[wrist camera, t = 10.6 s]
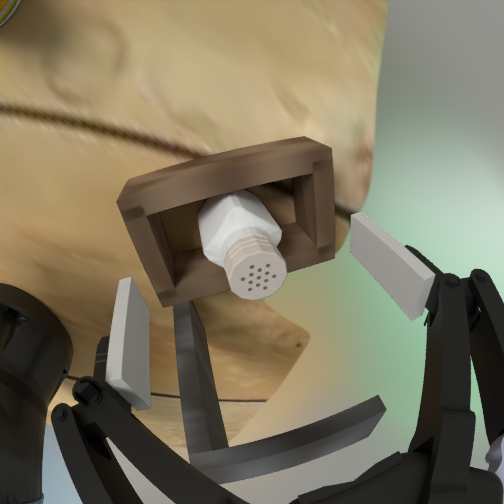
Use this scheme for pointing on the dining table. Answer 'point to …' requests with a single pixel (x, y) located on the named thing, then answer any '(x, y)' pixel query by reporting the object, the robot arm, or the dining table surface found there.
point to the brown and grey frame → (215, 281)
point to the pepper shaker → (243, 243)
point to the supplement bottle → (7, 9)
